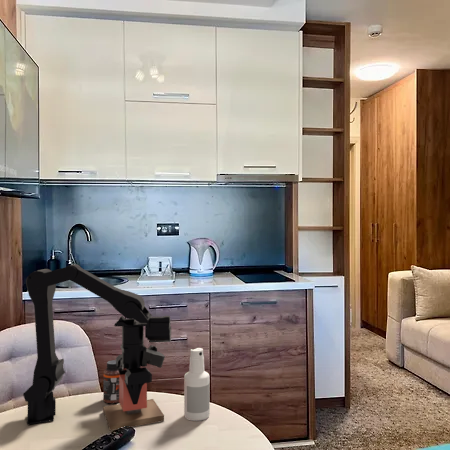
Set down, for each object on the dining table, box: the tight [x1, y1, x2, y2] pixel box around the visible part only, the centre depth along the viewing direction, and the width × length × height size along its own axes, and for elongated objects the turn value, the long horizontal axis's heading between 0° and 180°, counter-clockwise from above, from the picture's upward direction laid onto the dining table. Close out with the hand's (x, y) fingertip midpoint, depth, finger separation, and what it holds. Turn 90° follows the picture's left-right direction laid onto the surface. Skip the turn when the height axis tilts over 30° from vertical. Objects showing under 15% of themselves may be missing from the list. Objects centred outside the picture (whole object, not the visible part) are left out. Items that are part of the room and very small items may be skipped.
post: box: [126, 409, 141, 415], centre depth 119 cm, size 4×4×5 cm
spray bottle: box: [183, 347, 211, 422], centre depth 119 cm, size 7×7×18 cm
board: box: [102, 398, 165, 431], centre depth 119 cm, size 14×12×2 cm
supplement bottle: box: [102, 359, 121, 404], centre depth 130 cm, size 6×6×11 cm
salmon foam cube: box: [118, 374, 148, 412], centre depth 119 cm, size 6×6×8 cm
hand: (132, 399), depth 119 cm, fingers closed on salmon foam cube, 6 cm apart
